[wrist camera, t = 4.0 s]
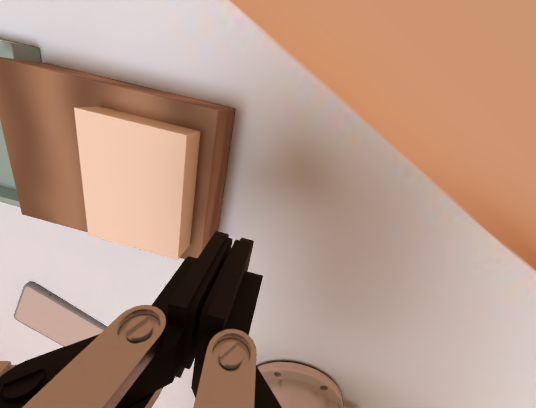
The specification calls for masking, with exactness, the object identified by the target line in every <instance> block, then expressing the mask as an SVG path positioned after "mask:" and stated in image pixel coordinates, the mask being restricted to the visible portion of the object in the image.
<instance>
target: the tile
mask: <svg viewBox="0 0 536 408" xmlns="http://www.w3.org/2000/svg"><path fill="white" fill-rule="evenodd" d="M74 112H75V121H76V130H77V139H78V148H79V157H80V166H81V175H82V184H83V193H84V202H85V211H86V220H87V229H88V235H90V236H93V237H97V238H100V239H104V240H108V241H111V242H115V243H119V244H122V245H126V246H129V247H133V248H137V249H140V250H144V251H148V252H151V253H155V254H158V255H162V256H166V257H169V258H173V259H177V260H178V259H179V258H180V257H181V255H182V254H183V253H184V252H185V250H186V249H187V248H188V247H189V245H190V238H191V228H192V217H193V206H194V196H195V185H196V174H197V164H198V153H199V142H200V132H201V131H197V130H193V129H189V128H185V127H181V126H177V125H173V124H169V123H165V122H161V121H157V120H152V119H148V118H144V117H140V116H136V115H132V114H128V113H124V112H120V111H116V110H112V109H108V108H104V107H74Z"/></svg>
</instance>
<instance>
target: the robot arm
mask: <svg viewBox="0 0 536 408" xmlns="http://www.w3.org/2000/svg"><path fill="white" fill-rule="evenodd" d="M228 237H229V235H228V234H225V233H222V232H218V231H215V233H214V234H213V236H212V237H211V239H210V240H209V242H208V243H207V245H206V246H205V248H204V249H203V251H202V252H201V254H200V255H199V257H198V258H194V257H191V256H188V257H187V258H186V259H185V260H184V262H183V263H182V264H181V266H180V267H179V269H178V270H177V271H176V273H175V274H174V275H173V277H172V278H171V280H170V281H169V282H168V284H167V285H166V286H165V288H164V289H163V291H162V292H161V293H160V295H159V296H158V297H157V299H156V300H155V301H154V303H153V304H152V306H151V305H141V306H137V307H133V308H131V309H129V310H127V311H125V312H124V313H123V314H121V315H120V316H119V317H118V318H117V319H116V320H114V321H113V322H112V323H111V324H110V325H109V326H108V327H107V328H106V329H105V330H104V331H103V332H102V333H101V334H98V335H95V336H93V337H90V338H87V339H84V340H82V341H79V342H76V343H73V344H71V345H68V346H65V347H62V348H60V349H57V350H54V351H51V352H49V353H46V354H43V355H41V356H38V357H35V358H32V359H30V360H27V361H25V362H23V363H20V364H18V365H11V362H10V361H0V408H151V407H152V406H153V404H154V403H155V401H156V400H157V398H158V396H159V395H160V393H161V391H162V389H163V387H164V386H166V385H168V384H170V383H172V382H173V380H174V378H175V376H176V377H179V378H180V377H181V375H182V373H183V371H184V368H187V369H190V367H191V365H192V363H193V361H194V358H195V363H194V371H193V379H192V387H191V388H192V390H193V393H194V395H195V398H196V399H195V404H194V408H343V400H342V394H341V392H340V390H339V388H338V387H337V386H336V384H335V383H334V382H333V381H332V380H331V379H330V378H328V377H327V376H326V375H324V374H323V373H321V372H320V371H318V370H316V369H313V368H311V367H309V366H305V365H302V364H298V363H292V362H272V363H267V364H263V365H261V366H258V367H257V366H256V347H255V345H254V342H253V340H252V339H251V338H250V337H249V331H250V327H251V323H252V319H253V314H254V310H255V306H256V302H257V298H258V294H259V290H260V286H261V281H262V277H263V276H262V275H258V274H254V273H250V272H247V270H248V266H249V261H250V257H251V252H252V248H253V243H254V241H252V240H248V239H245V238H241V239H240V241H239V240H235V242H234V244H233V246H232V248H231V245H232V239H231V238H228Z"/></svg>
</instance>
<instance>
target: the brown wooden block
mask: <svg viewBox="0 0 536 408" xmlns="http://www.w3.org/2000/svg"><path fill="white" fill-rule="evenodd" d="M74 107H104V108H108V109H112V110H116V111H120V112H124V113H128V114H132V115H136V116H140V117H144V118H148V119H152V120H157V121H161V122H165V123H169V124H173V125H177V126H181V127H185V128H189V129H193V130H197V131H201V132H200V142H199V153H198V164H197V174H196V185H195V196H194V206H193V217H192V228H191V238H190V245H189V247H188V248H187V249H186V250H185V252H184V253H183V254H182V255H181V257H180V258H183V259H186V258H187V257H188V256H191V257H194V258H198V257H199V255H200V254H201V252H202V251H203V249H204V248H205V246H206V245H207V243H208V242H209V240H210V239H211V237H212V236H213V234H214V233H215V231H218V225H219V218H220V211H221V204H222V198H223V191H224V184H225V177H226V170H227V163H228V156H229V150H230V143H231V136H232V129H233V122H234V115H235V108H230V107H226V106H222V105H218V104H214V103H209V102H205V101H201V100H197V99H193V98H188V97H184V96H180V95H176V94H172V93H168V92H163V91H159V90H155V89H151V88H147V87H142V86H138V85H134V84H130V83H126V82H121V81H117V80H113V79H109V78H105V77H101V76H96V75H92V74H88V73H84V72H80V71H75V70H71V69H67V68H63V67H59V66H54V65H50V64H46V63H40V62H33V61H26V60H19V59H12V58H5V57H0V121H1V126H2V130H3V134H4V139H5V143H6V147H7V151H8V156H9V160H10V164H11V169H12V173H13V177H14V182H15V186H16V190H17V194H18V199H19V203H20V207H21V212H22V214H23V215H27V216H31V217H34V218H38V219H42V220H45V221H49V222H52V223H56V224H60V225H63V226H67V227H71V228H74V229H78V230H82V231H85V232H88V229H87V220H86V211H85V202H84V193H83V184H82V175H81V166H80V157H79V148H78V139H77V130H76V121H75V112H74Z"/></svg>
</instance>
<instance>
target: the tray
mask: <svg viewBox="0 0 536 408" xmlns="http://www.w3.org/2000/svg"><path fill="white" fill-rule="evenodd" d="M0 57H5V58H12V59H19V60H26V61H33V62H40V63H41V58H40V51H39V48H37V47H32V46H28V45H24V44H20V43H15V42H11V41H7V40H3V39H0ZM0 202H3V203H7V204H10V205H14V206H18V207H20V203H19V199H18V194H17V190H16V186H15V182H14V177H13V173H12V169H11V164H10V160H9V156H8V151H7V147H6V143H5V139H4V134H3V130H2V126H1V121H0Z"/></svg>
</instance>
